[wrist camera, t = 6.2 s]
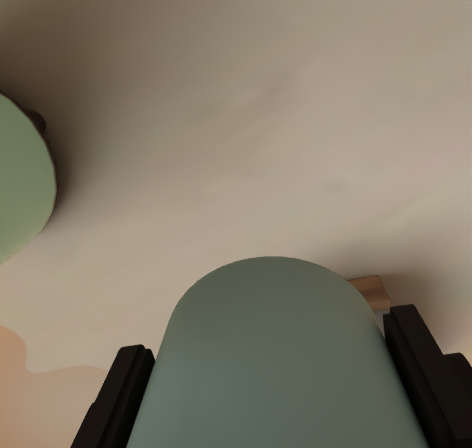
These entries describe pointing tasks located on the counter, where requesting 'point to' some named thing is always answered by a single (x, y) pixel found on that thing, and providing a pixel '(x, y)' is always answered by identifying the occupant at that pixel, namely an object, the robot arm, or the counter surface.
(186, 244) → the counter surface
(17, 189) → the mint green blender
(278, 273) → the teal cylinder
